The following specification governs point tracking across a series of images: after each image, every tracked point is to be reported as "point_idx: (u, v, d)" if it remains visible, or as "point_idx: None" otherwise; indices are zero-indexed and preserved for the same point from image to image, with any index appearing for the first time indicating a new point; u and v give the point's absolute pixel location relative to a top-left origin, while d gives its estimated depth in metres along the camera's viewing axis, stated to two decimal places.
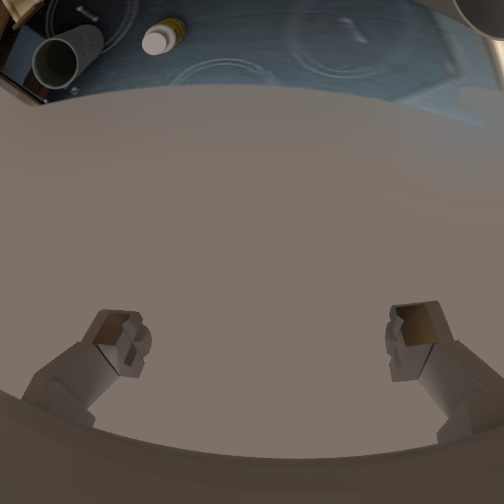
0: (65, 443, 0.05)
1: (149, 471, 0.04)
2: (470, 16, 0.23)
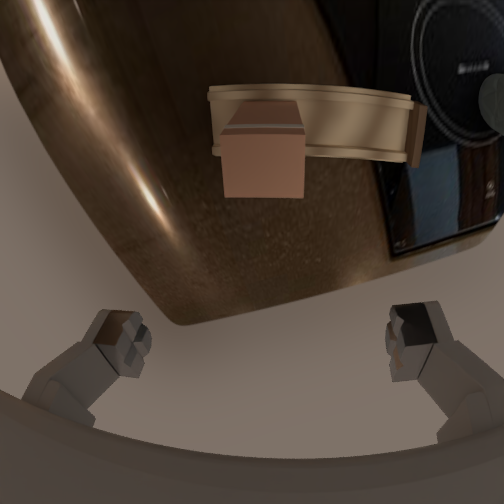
0: (65, 443, 0.05)
1: (149, 471, 0.04)
2: None
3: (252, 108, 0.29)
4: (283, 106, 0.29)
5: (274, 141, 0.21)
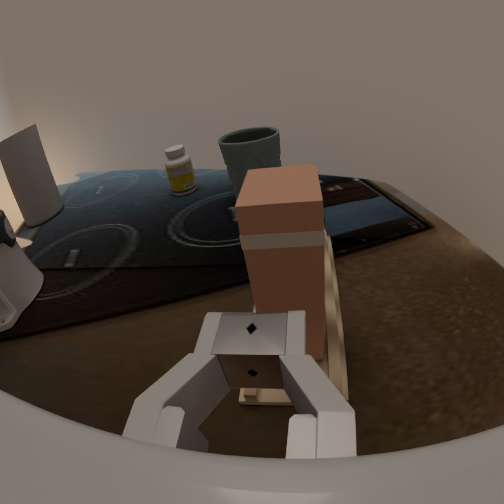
0: (65, 442, 0.05)
1: (149, 471, 0.04)
2: None
3: None
4: None
5: (251, 180, 0.21)
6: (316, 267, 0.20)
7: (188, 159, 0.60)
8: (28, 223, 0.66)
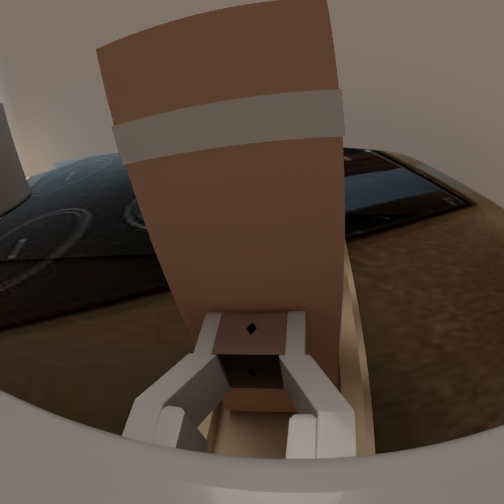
0: (65, 442, 0.05)
1: (149, 471, 0.04)
2: None
3: None
4: None
5: None
6: (323, 209, 0.07)
7: None
8: None
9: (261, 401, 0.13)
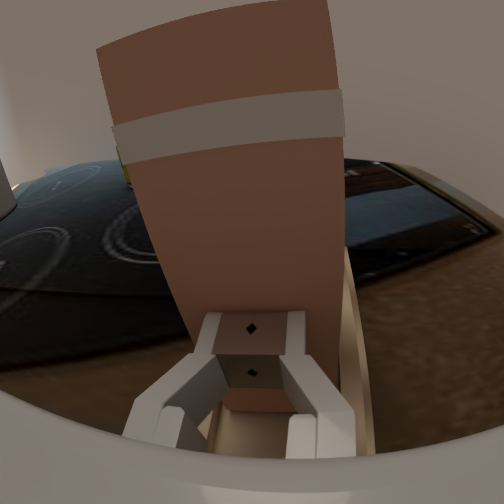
0: (65, 442, 0.05)
1: (149, 471, 0.04)
2: None
3: None
4: None
5: None
6: (323, 210, 0.07)
7: None
8: None
9: (261, 401, 0.13)
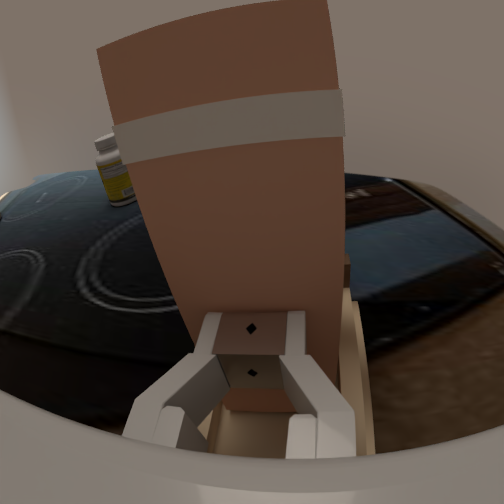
0: (65, 442, 0.05)
1: (149, 471, 0.04)
2: None
3: None
4: None
5: None
6: (323, 210, 0.07)
7: None
8: None
9: (261, 401, 0.13)
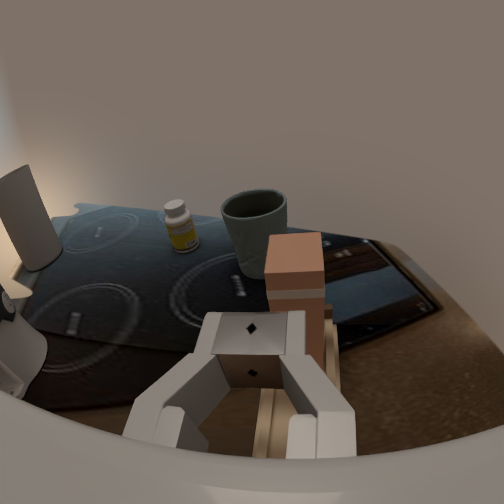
0: (65, 442, 0.05)
1: (149, 471, 0.04)
2: None
3: None
4: None
5: (273, 246, 0.29)
6: (318, 310, 0.28)
7: (189, 216, 0.58)
8: (27, 267, 0.65)
9: None
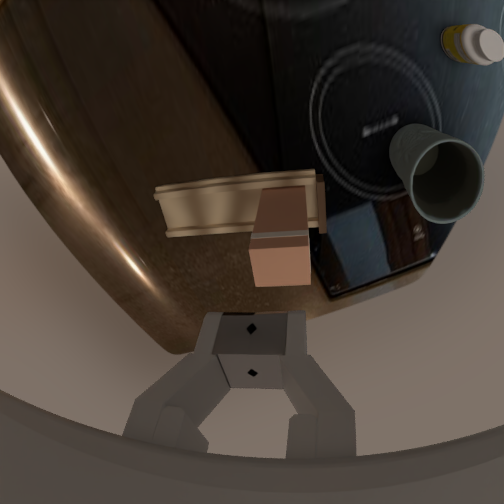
0: (65, 442, 0.05)
1: (149, 471, 0.04)
2: None
3: (270, 203, 0.39)
4: (294, 197, 0.40)
5: (287, 251, 0.31)
6: None
7: (479, 63, 0.23)
8: None
9: None
